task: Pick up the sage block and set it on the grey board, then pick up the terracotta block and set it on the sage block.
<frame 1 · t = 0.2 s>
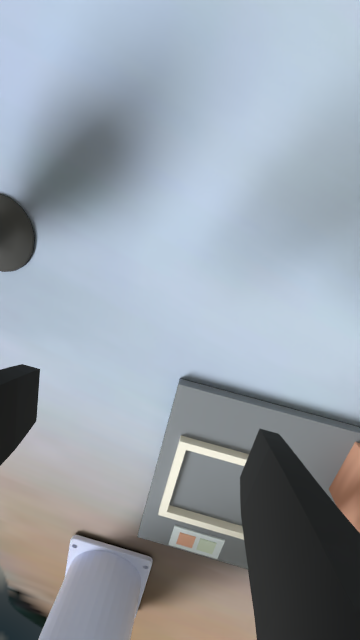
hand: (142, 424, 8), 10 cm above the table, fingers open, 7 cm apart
sundae: (2, 233, 18), on the table
grey board: (276, 495, 21), on the table
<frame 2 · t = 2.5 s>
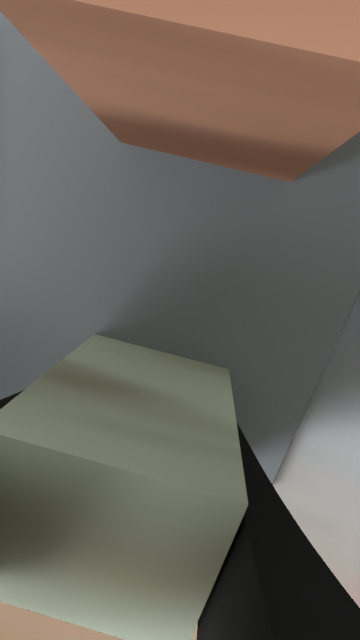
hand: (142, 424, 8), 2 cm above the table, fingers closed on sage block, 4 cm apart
terracotta block: (229, 54, 6), point 1 cm above the table, touching grey board
grey board: (34, 227, 9), on the table
sage block: (147, 408, 9), point 1 cm above the table, touching grey board, gripper
when the fingers open (3 cm above the table, at t = 6.0 s): sage block drops 1 cm, resting on grey board.
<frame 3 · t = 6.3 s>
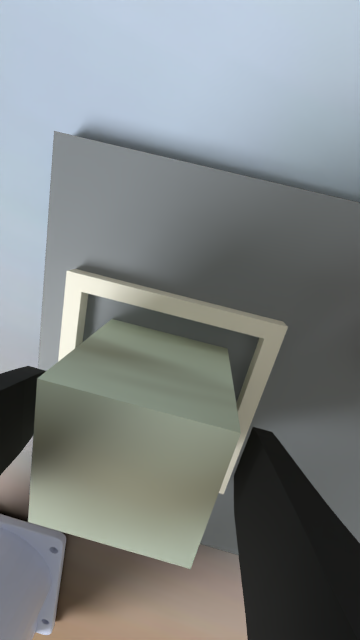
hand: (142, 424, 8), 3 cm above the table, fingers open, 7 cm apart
grey board: (273, 406, 11), on the table
sage block: (157, 384, 11), point 1 cm above the table, touching grey board
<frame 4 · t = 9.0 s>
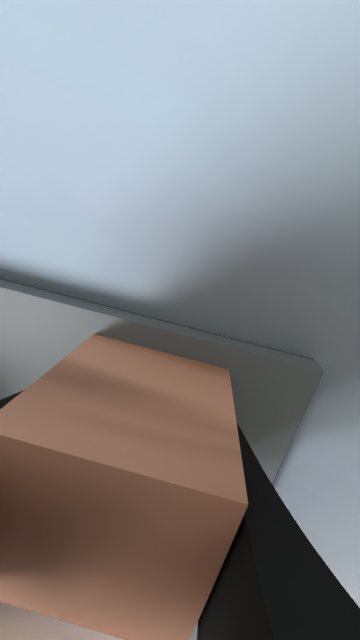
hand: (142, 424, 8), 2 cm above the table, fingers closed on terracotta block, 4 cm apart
terracotta block: (147, 408, 9), point 1 cm above the table, touching grey board, gripper
grey board: (22, 460, 12), on the table
when the fingers open (7 cm above the table, at t = 11.8 s): terracotta block drops 1 cm, resting on sage block.
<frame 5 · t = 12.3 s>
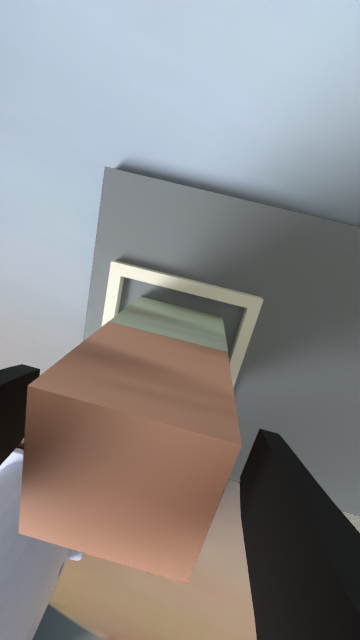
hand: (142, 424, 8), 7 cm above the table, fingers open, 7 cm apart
terracotta block: (155, 388, 10), point 5 cm above the table, touching sage block
grey board: (256, 362, 15), on the table
sage block: (172, 344, 15), point 1 cm above the table, touching grey board, terracotta block
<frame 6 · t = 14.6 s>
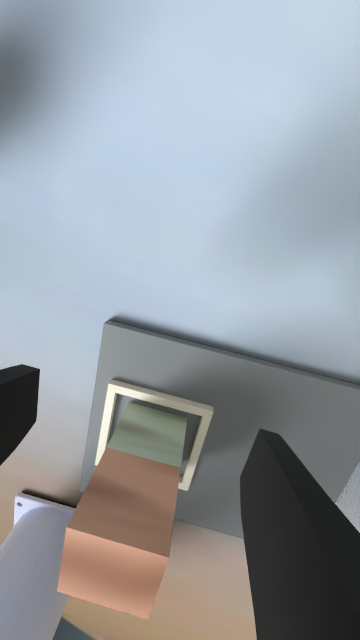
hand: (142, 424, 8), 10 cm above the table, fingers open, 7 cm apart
terracotta block: (136, 485, 16), point 5 cm above the table, touching sage block
grey board: (214, 444, 21), on the table
sage block: (152, 433, 20), point 1 cm above the table, touching grey board, terracotta block
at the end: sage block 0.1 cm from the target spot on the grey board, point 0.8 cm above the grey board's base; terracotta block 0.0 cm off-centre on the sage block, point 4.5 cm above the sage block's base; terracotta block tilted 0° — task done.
